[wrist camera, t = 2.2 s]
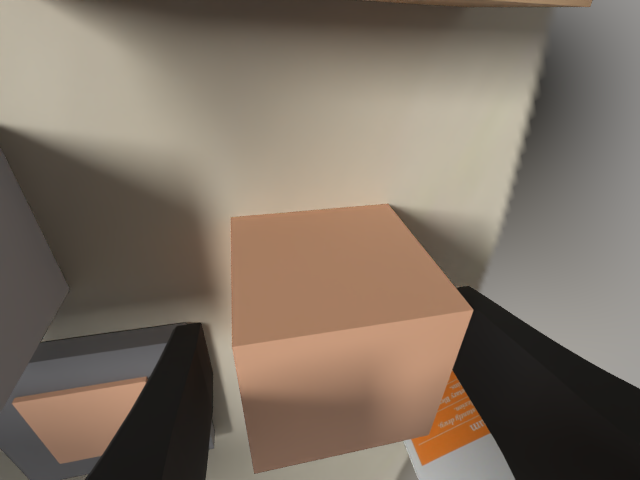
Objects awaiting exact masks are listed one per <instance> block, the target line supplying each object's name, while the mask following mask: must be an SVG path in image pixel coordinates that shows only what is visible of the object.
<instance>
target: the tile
mask: <svg viewBox="0 0 640 480" xmlns="http://www.w3.org/2000/svg"><path fill="white" fill-rule="evenodd" d="M179 325H186V323H180V324H173V325H166V326H158V327H151V328H144V329H137V330H129V331H122V332H115V333H108V334H100V335H93V336H86V337H79V338H71V339H64V340H57V341H50V342H42V343H39V345H38V347H37V349H36V351H35V352H34V354H33V356H32V358H31V360H30V361H29V363H28V365H27V367H26V368H25V370H24V372H23V374H22V376H21V377H20V379H19V381H18V383H17V385H16V386H15V388H14V390H13V392H12V393H11V395H10V397H9V399H8V401H7V402H6V404H5V406H4V408H3V409H2V411H1V413H0V449H1V450H2V451H3V452H4V453H5V454H6V455H7V456H8V457H9V458H10V459H11V460H12V461H13V463H14V464H15V465H16V466H17V467H18V468H19V469H20V470H21V471H22V472H23V473H24V474H25V475H26V476H27V477H28V478H29V480H62V479H67V478H72V477H76V476H81V475H86V474H89V473H90V472H91V470H92V469H93V467H94V466H95V464H96V463H97V462H98V460H99V459H100V457H101V456H102V454H103V453H104V451H105V450H106V448H107V447H108V445H109V443H110V442H111V440H112V439H113V437H114V436H115V434H116V432H117V431H118V429H119V428H120V426H121V425H122V423H123V421H124V420H125V418H126V417H127V415H128V413H129V412H130V410H131V408H132V407H133V405H134V403H135V402H136V400H137V398H138V396H139V395H140V393H141V391H142V389H143V388H144V386H145V384H146V382H147V381H148V379H149V377H150V375H151V373H152V372H153V370H154V368H155V366H156V364H157V362H158V360H159V358H160V356H161V354H162V352H163V350H164V348H165V346H166V344H167V342H168V340H169V338H170V336H171V333H172V331H173V329H174V328H175V327H176V326H179ZM214 438H215V430H214V426H213V422H211V432H210V441H209V449H213V448H214Z"/></svg>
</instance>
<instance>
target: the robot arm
mask: <svg viewBox="0 0 640 480" xmlns="http://www.w3.org/2000/svg"><path fill="white" fill-rule="evenodd" d="M456 289H457V290H458V291H459V292H460V294H461V295H462V296H463V297H464V299H465V300H466V301H467V302H468V304H469V305H470V306H471V307H472V309H473V313H472V316H471V319H470V321H469V324H468V327H467V330H466V333H465V335H464V338H463V341H462V344H461V347H460V349H459V352H458V355H457V358H456V361H455V363H454V366H453V369H452V370H453V372H454V374H455V375H456V377H457V379H458V380H459V382H460V384H461V385H462V387H463V389H464V390H465V392H466V394H467V395H468V397H469V399H470V400H471V402H472V403H473V405H474V407H475V408H476V410H477V412H478V413H479V415H480V417H481V418H482V420H483V421H484V423H485V425H486V426H487V428H488V430H489V431H490V433H491V435H492V436H493V438H494V440H495V441H496V443H497V445H498V447H499V448H500V450H501V452H502V454H503V456H504V458H505V460H506V462H507V464H508V466H509V468H510V470H511V472H512V474H513V476H514V478H515V480H640V389H639V388H637V387H635V386H633V385H631V384H629V383H628V382H626V381H624V380H622V379H619V378H618V377H616V376H614V375H612V374H610V373H608V372H606V371H605V370H603V369H601V368H599V367H597V366H595V365H594V364H592V363H590V362H588V361H587V360H585V359H583V358H582V357H580V356H578V355H577V354H575V353H573V352H571V351H570V350H568V349H566V348H565V347H563V346H561V345H560V344H558V343H556V342H555V341H553V340H552V339H550V338H548V337H547V336H545V335H544V334H542V333H540V332H539V331H537V330H536V329H534V328H533V327H531V326H530V325H528V324H527V323H525V322H523V321H522V320H520V319H519V318H517V317H516V316H514V315H513V314H511V313H510V312H508V311H507V310H505V309H504V308H502V307H501V306H499V305H498V304H496V303H494V302H493V301H492V300H490V299H488V298H487V297H485V296H484V295H482V294H481V293H479V292H478V291H476V290H474V289H473V288H471V287H469V286H467V287H459V288H456ZM212 412H213V371H212V367H211V362H210V358H209V354H208V349H207V345H206V341H205V337H204V332H203V328H202V324H201V323H194V324H187V325H179V326H176V327H175V328H174V329H173V331H172V333H171V336H170V338H169V340H168V342H167V344H166V346H165V348H164V350H163V352H162V354H161V356H160V358H159V360H158V362H157V364H156V366H155V368H154V370H153V372H152V373H151V375H150V377H149V379H148V381H147V382H146V384H145V386H144V388H143V389H142V391H141V393H140V395H139V396H138V398H137V400H136V402H135V403H134V405H133V407H132V408H131V410H130V412H129V413H128V415H127V417H126V418H125V420H124V421H123V423H122V425H121V426H120V428H119V429H118V431H117V432H116V434H115V436H114V437H113V439H112V440H111V442H110V443H109V445H108V447H107V448H106V450H105V451H104V453H103V454H102V456H101V457H100V459H99V460H98V462H97V463H96V464H95V466H94V467H93V469H92V470H91V472H90V473H89V475H88V476H87V477H86V479H85V480H205V478H206V469H207V460H208V451H209V441H210V432H211V422H212Z"/></svg>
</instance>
